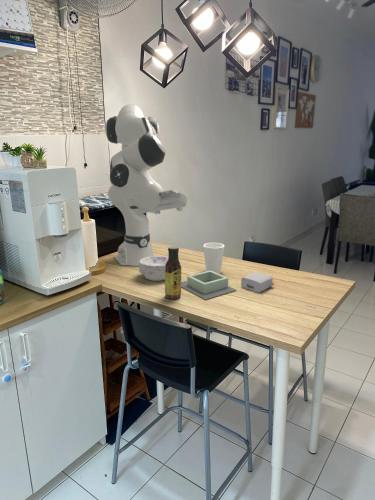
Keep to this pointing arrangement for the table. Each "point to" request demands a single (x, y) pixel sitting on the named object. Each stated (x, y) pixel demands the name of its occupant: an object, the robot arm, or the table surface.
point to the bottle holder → (214, 284)
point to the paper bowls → (153, 267)
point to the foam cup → (213, 256)
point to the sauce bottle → (173, 274)
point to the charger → (257, 282)
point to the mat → (207, 295)
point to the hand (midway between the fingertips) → (169, 210)
